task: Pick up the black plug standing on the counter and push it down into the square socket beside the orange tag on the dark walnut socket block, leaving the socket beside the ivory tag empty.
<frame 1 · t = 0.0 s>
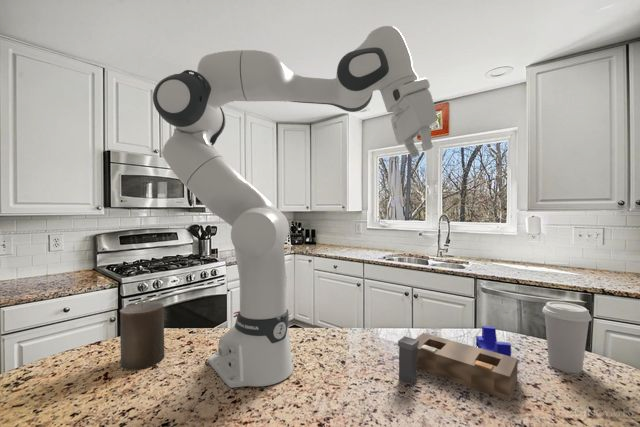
hand: (421, 153, 73), 52 cm above the countertop, tool tilted 20°, fingers open, 8 cm apart
pillar candle: (142, 361, 79), on the countertop
socket block: (459, 372, 73), on the countertop
cable clip: (492, 357, 82), on the countertop
plug: (407, 379, 70), on the countertop
coffee cup: (565, 367, 76), on the countertop
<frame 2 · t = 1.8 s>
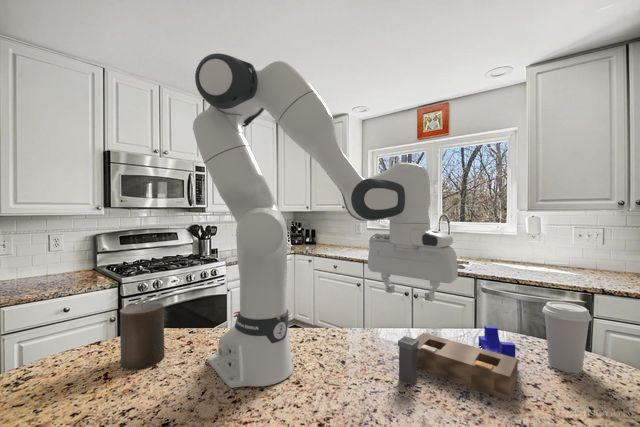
hand: (408, 296, 70), 19 cm above the countertop, tool pointing down, fingers open, 8 cm apart
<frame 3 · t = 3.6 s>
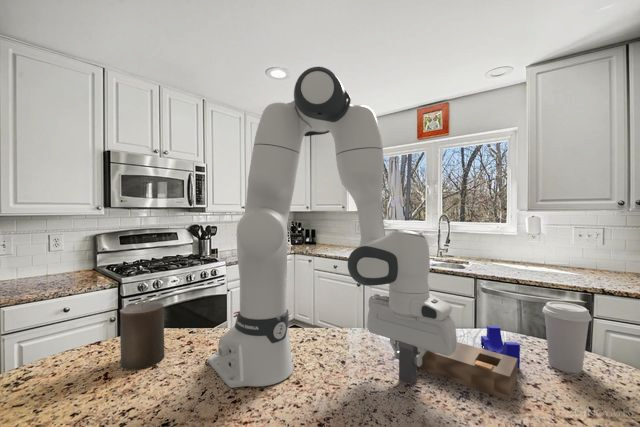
hand: (408, 361, 70), 4 cm above the countertop, tool pointing down, fingers closed on plug, 3 cm apart
plug: (407, 379, 70), on the countertop, touching gripper
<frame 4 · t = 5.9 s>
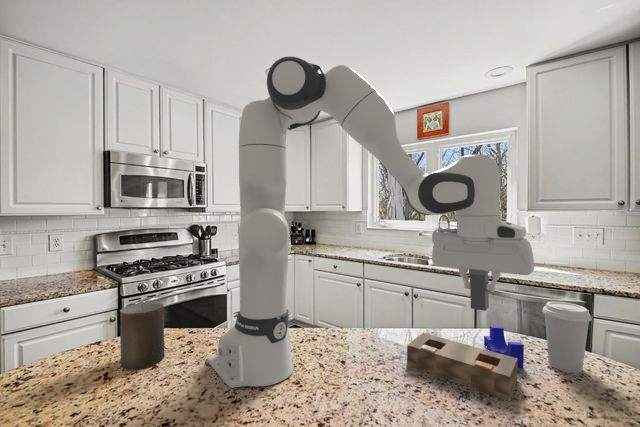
hand: (479, 289, 69), 21 cm above the countertop, tool pointing down, fingers closed on plug, 3 cm apart
plug: (479, 307, 69), point 17 cm above the countertop, touching gripper
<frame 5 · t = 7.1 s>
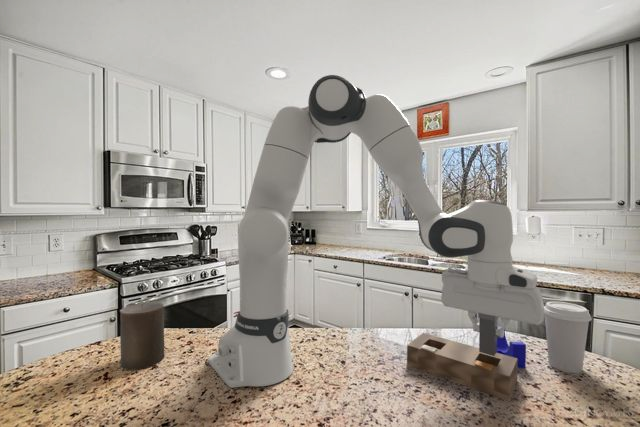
hand: (488, 333, 69), 11 cm above the countertop, tool pointing down, fingers closed on plug, 3 cm apart
plug: (488, 351, 70), point 7 cm above the countertop, touching gripper
when the fingers open (7 cm above the countertop, at t = 8.1 s): plug drops 2 cm, resting on socket block.
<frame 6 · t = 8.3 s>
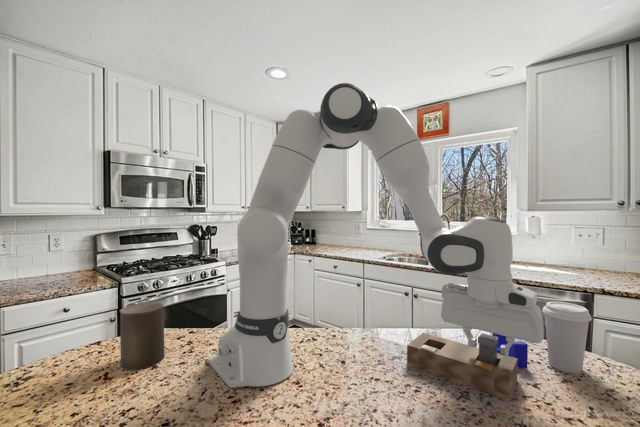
hand: (487, 350, 69), 7 cm above the countertop, tool pointing down, fingers open, 5 cm apart
plug: (487, 377, 70), point 1 cm above the countertop, touching socket block
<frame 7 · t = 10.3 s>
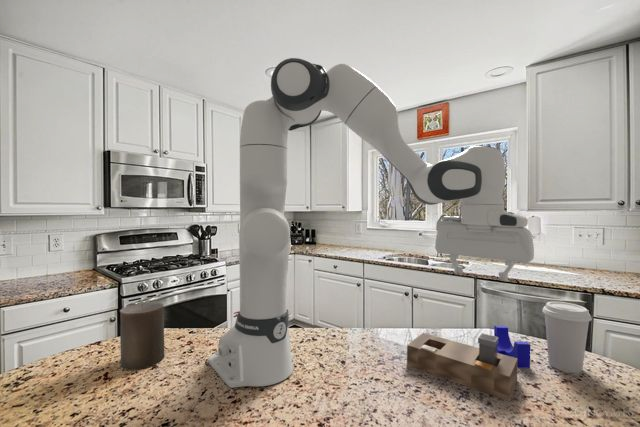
hand: (479, 277, 71), 23 cm above the countertop, tool pointing down, fingers open, 8 cm apart
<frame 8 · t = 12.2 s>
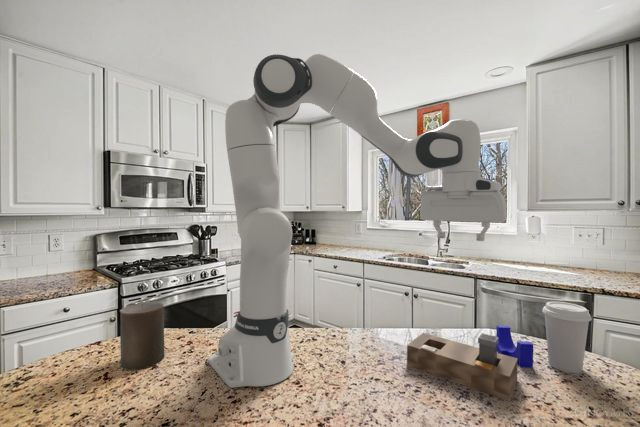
hand: (460, 239, 79), 31 cm above the countertop, tool pointing down, fingers open, 8 cm apart
at the end: plug 0.0 cm from the target spot on the socket block, point 1.0 cm above the socket block's base; plug tilted 0°; the gripper is holding nothing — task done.
